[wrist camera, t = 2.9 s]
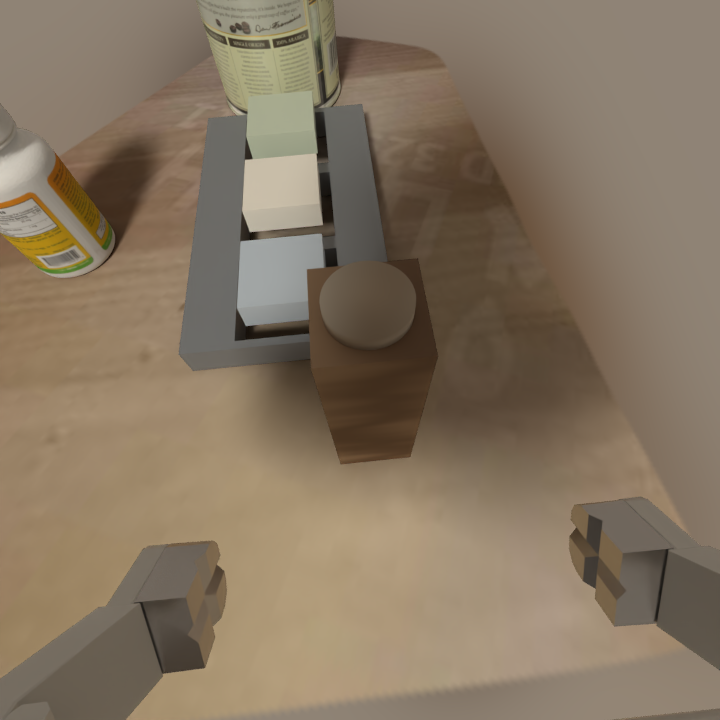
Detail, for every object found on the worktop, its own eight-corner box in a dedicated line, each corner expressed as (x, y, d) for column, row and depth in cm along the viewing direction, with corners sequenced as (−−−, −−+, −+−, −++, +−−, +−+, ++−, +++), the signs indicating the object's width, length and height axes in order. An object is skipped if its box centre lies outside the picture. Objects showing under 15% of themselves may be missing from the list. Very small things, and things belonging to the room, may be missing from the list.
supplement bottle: (80, 212, 31) (-34, 70, 22) (133, 237, 29) (33, 97, 21) (22, 262, 29) (-130, 127, 20) (76, 292, 27) (-62, 160, 19)
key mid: (249, 232, 26) (242, 210, 25) (251, 182, 28) (245, 160, 27) (322, 225, 26) (319, 203, 25) (319, 176, 28) (316, 153, 27)
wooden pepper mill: (340, 463, 21) (307, 358, 11) (336, 399, 23) (304, 256, 13) (410, 456, 21) (440, 345, 11) (400, 393, 23) (419, 245, 13)
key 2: (252, 159, 29) (246, 136, 28) (254, 119, 31) (248, 96, 30) (317, 153, 29) (314, 130, 28) (315, 113, 32) (312, 90, 30)
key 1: (246, 326, 23) (236, 308, 21) (248, 261, 25) (240, 241, 23) (329, 317, 23) (326, 299, 21) (325, 254, 25) (321, 233, 24)
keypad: (193, 370, 24) (178, 354, 22) (217, 142, 34) (208, 118, 32) (397, 350, 24) (399, 332, 23) (362, 128, 34) (362, 103, 32)
